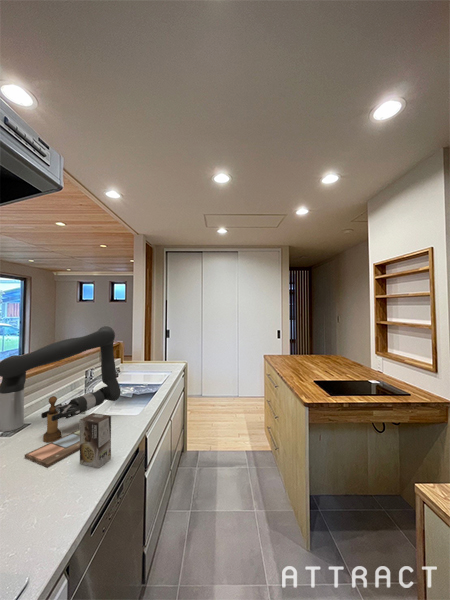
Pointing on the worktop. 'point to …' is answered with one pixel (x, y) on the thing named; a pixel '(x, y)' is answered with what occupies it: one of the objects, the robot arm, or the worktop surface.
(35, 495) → the worktop surface
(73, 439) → the tile board
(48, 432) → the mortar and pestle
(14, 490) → the worktop surface
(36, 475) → the worktop surface
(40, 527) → the worktop surface
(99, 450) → the coffee box
